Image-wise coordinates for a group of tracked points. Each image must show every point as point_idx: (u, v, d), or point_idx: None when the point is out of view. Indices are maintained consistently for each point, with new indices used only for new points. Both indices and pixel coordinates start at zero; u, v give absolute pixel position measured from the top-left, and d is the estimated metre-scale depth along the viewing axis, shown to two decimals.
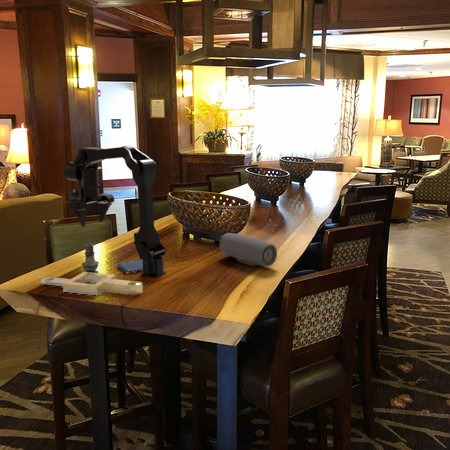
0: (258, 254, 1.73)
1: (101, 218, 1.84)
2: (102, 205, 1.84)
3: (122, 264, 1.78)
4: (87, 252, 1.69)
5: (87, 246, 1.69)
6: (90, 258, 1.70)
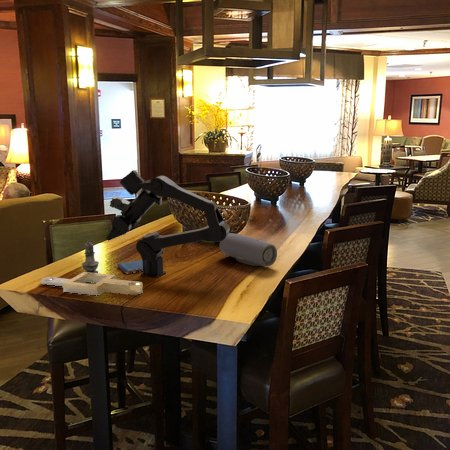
0: (258, 254, 1.73)
1: None
2: None
3: (122, 264, 1.78)
4: (87, 252, 1.69)
5: (87, 246, 1.69)
6: (90, 258, 1.70)
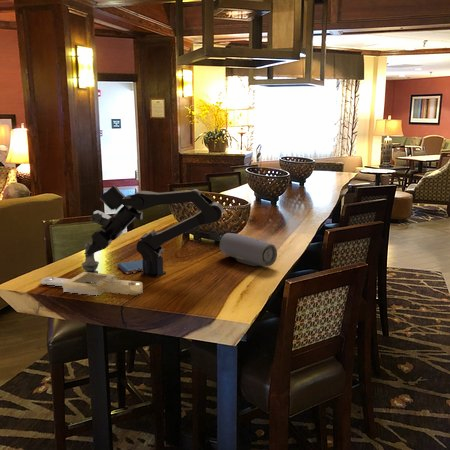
0: (258, 254, 1.73)
1: None
2: None
3: (122, 264, 1.78)
4: None
5: (87, 246, 1.69)
6: (90, 258, 1.70)
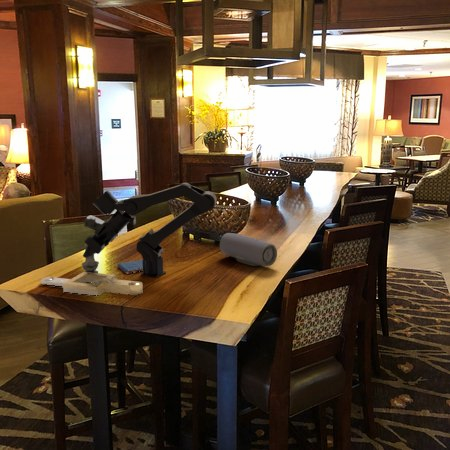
0: (258, 254, 1.73)
1: None
2: None
3: (122, 264, 1.78)
4: None
5: (87, 246, 1.69)
6: (90, 258, 1.70)
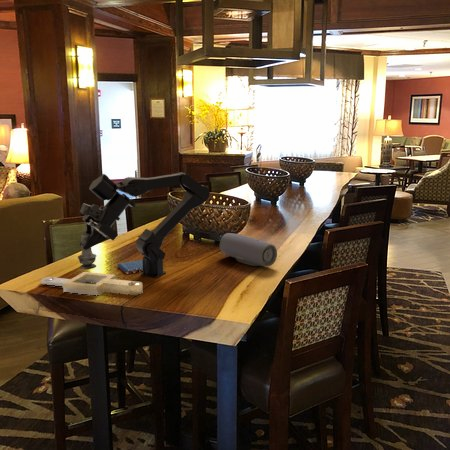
0: (258, 254, 1.73)
1: None
2: None
3: (122, 264, 1.78)
4: None
5: (86, 237, 1.54)
6: (90, 250, 1.56)
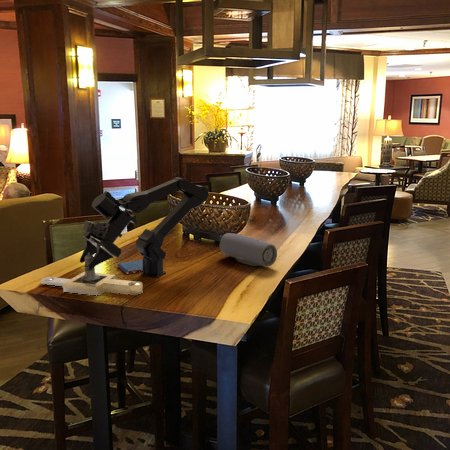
0: (258, 254, 1.73)
1: (84, 259, 1.58)
2: (93, 247, 1.60)
3: (122, 264, 1.78)
4: None
5: (90, 258, 1.55)
6: (93, 271, 1.56)
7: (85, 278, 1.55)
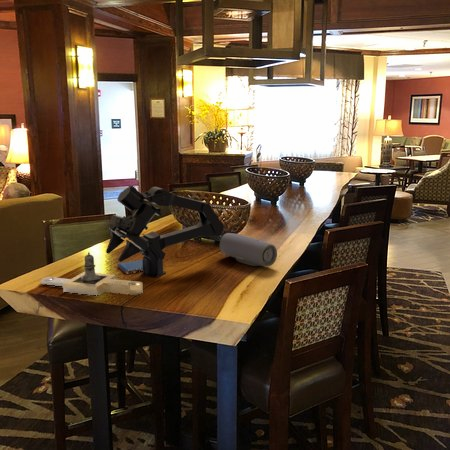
0: (258, 254, 1.73)
1: (110, 250, 1.65)
2: (118, 238, 1.67)
3: (122, 264, 1.78)
4: (90, 265, 1.55)
5: (90, 258, 1.54)
6: (93, 271, 1.56)
7: (85, 278, 1.55)
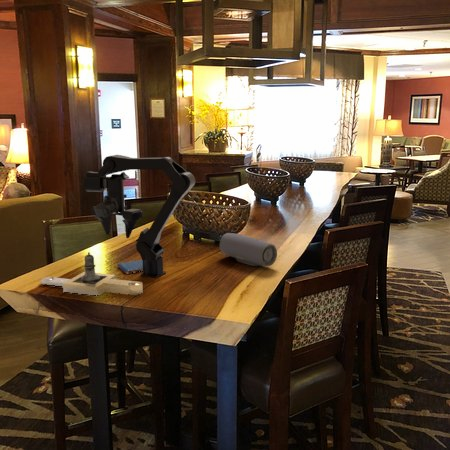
0: (258, 254, 1.73)
1: (108, 230, 1.73)
2: (107, 217, 1.72)
3: (122, 264, 1.78)
4: (90, 265, 1.55)
5: (90, 258, 1.54)
6: (93, 271, 1.56)
7: (85, 278, 1.55)
